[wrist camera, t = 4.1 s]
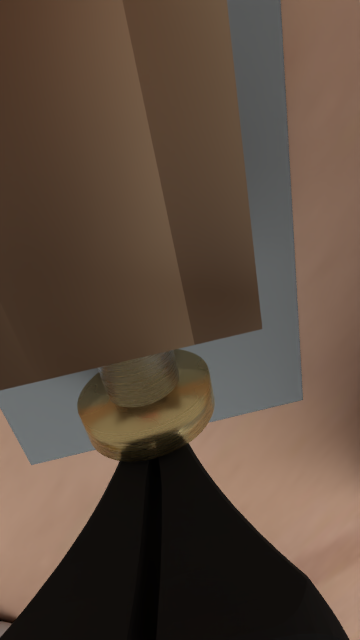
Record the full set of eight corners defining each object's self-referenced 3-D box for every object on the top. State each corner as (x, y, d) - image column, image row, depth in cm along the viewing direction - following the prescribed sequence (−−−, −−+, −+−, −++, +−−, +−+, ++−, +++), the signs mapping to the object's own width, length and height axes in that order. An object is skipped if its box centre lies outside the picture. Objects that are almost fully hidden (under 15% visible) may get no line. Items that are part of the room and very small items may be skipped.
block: (169, 15, 8) (203, -224, 3) (211, 271, 11) (262, 328, 6) (-58, 62, 8) (-337, -120, 3) (43, 310, 11) (-33, 398, 6)
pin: (115, -62, 7) (85, -341, 3) (202, 362, 12) (229, 440, 8) (-57, -27, 7) (-281, -275, 3) (97, 386, 11) (75, 477, 8)
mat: (252, -347, 6) (259, -380, 6) (298, 394, 14) (303, 400, 13) (-335, -238, 6) (-365, -266, 6) (34, 457, 13) (31, 464, 13)
